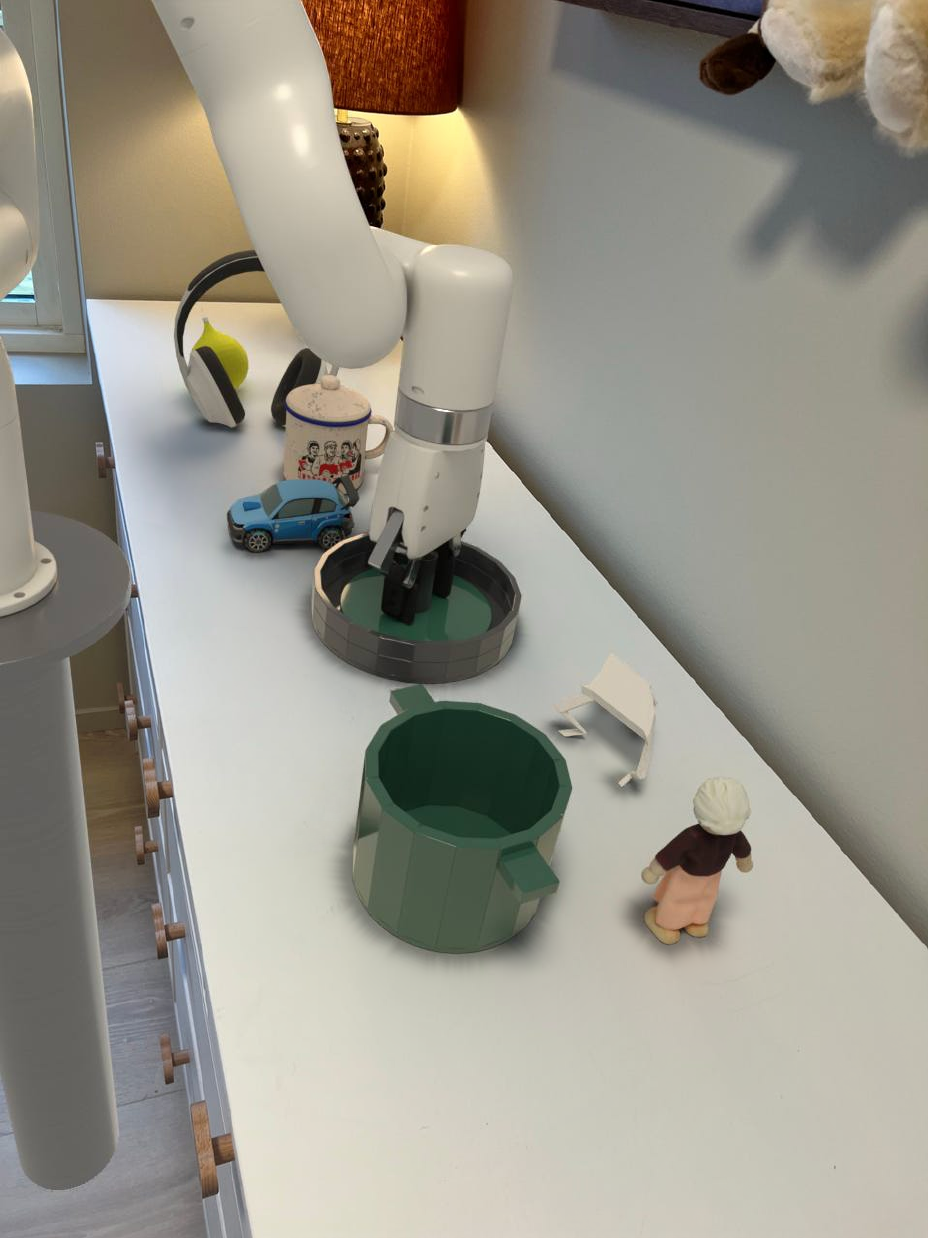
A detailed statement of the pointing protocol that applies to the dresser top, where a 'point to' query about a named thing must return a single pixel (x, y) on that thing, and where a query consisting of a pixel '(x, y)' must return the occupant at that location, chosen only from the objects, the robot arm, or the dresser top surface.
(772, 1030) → the dresser top surface
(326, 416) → the teacup with lid
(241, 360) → the yellow-green teardrop shape
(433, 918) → the pot
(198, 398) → the headphones
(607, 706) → the origami figure
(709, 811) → the grandmother figurine
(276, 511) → the toy car
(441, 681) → the pan
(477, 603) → the lid
